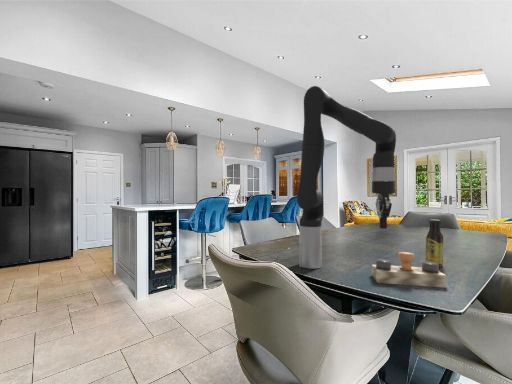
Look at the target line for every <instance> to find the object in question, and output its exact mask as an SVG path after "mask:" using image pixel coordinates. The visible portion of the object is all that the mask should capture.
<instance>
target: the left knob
mask: <svg viewBox="0 0 512 384" xmlns="http://www.w3.org/2000/svg"><path fill="white" fill-rule="evenodd" d="M375 265H376V267H377V268H379V269H380V270H388V269H391V266H392V261H391V260H388V259H383V258H382V259H376V260H375Z"/></svg>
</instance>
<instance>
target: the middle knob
mask: <svg viewBox="0 0 512 384" xmlns="http://www.w3.org/2000/svg"><path fill="white" fill-rule="evenodd" d="M398 261H401V263H400V264H401V265H400V266H402V271H411V267H412V263H414V262H415V253H413V252H407V251H399V252H398Z"/></svg>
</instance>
